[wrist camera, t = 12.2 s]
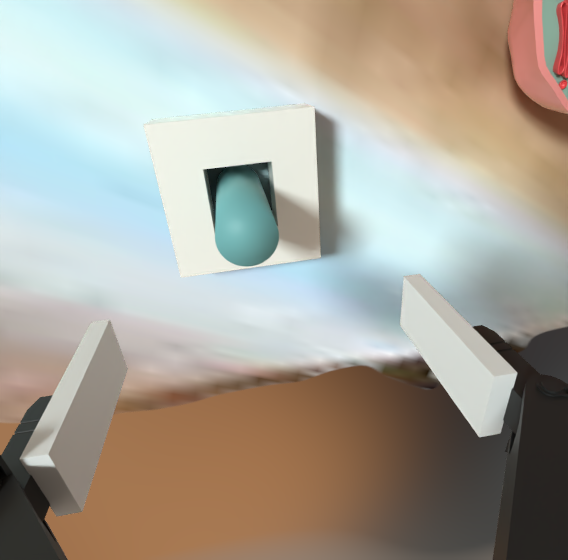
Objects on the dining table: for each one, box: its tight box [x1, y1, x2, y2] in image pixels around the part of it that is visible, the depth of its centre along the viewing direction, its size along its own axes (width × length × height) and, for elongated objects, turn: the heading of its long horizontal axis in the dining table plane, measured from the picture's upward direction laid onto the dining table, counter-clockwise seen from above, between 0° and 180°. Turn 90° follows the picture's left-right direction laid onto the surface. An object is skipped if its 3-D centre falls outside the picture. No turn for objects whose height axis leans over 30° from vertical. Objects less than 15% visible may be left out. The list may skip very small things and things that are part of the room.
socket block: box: [144, 103, 321, 278], centre depth 37 cm, size 14×14×4 cm
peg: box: [215, 165, 279, 267], centre depth 32 cm, size 4×4×14 cm
